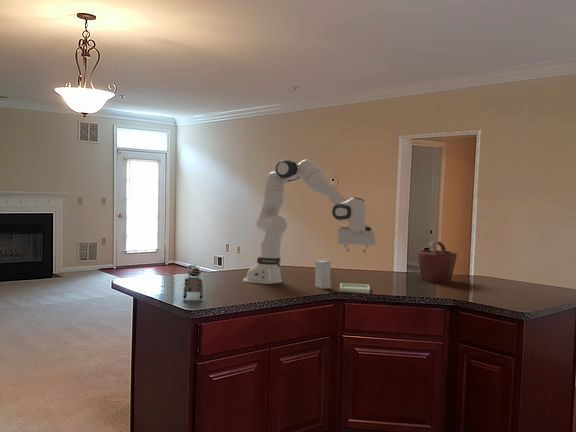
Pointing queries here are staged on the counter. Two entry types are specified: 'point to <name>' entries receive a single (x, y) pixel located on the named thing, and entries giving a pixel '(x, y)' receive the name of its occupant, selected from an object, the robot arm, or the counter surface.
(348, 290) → the sage tray
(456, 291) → the counter surface
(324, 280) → the skincare box
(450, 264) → the bucket
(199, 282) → the figurine
